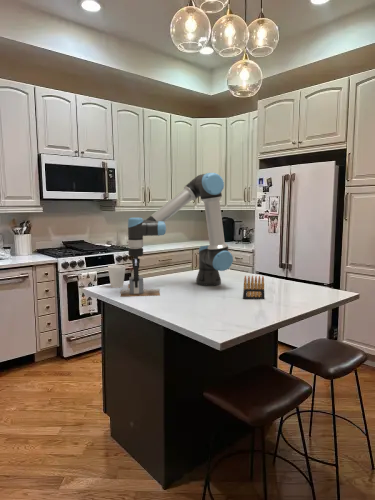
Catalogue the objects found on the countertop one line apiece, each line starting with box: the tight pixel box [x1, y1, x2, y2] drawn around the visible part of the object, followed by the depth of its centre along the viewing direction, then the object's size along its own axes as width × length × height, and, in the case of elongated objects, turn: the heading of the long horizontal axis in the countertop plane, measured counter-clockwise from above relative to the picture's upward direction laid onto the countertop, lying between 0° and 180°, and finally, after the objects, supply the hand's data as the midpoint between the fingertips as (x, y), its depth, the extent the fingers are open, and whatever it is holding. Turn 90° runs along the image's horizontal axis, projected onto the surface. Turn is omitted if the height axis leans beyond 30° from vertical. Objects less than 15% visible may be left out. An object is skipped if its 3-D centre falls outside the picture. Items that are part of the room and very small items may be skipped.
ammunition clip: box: [242, 275, 266, 300], centre depth 180 cm, size 11×2×12 cm, turn 89°
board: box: [120, 292, 161, 298], centre depth 186 cm, size 20×13×2 cm, turn 98°
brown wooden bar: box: [120, 288, 161, 295], centre depth 186 cm, size 20×2×2 cm, turn 98°
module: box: [127, 276, 144, 294], centre depth 185 cm, size 8×5×8 cm, turn 98°
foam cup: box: [107, 264, 126, 289], centre depth 200 cm, size 10×9×13 cm
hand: (136, 292), depth 186 cm, fingers closed on module, 5 cm apart
